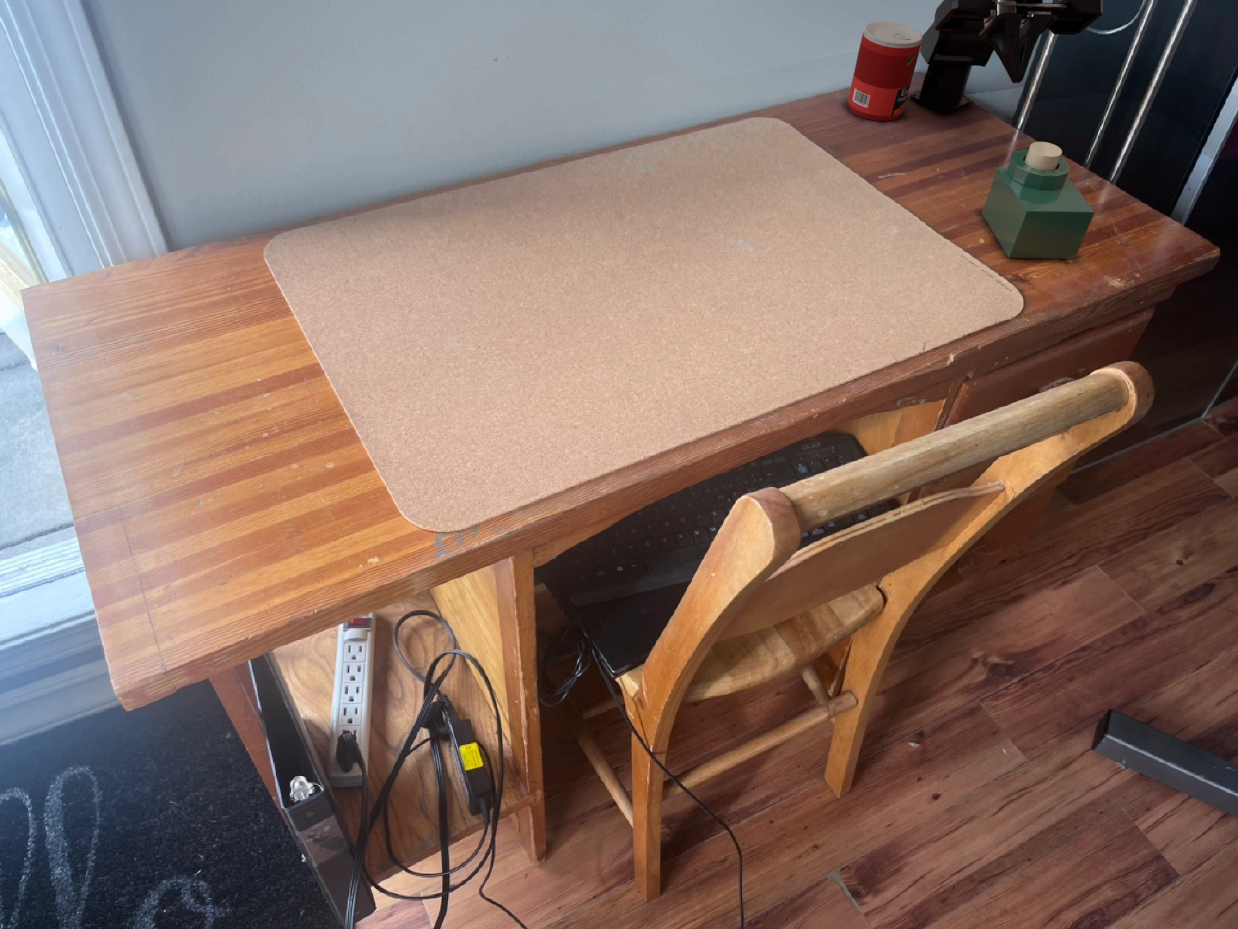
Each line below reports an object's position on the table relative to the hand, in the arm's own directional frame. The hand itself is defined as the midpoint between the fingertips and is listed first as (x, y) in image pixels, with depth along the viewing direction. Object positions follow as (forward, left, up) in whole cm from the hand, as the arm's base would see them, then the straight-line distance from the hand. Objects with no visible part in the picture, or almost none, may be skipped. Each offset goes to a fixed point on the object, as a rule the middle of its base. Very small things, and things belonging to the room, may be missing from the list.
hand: (1017, 81), depth 120 cm
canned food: (-3, -21, -13) cm, 25 cm away
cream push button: (+6, +9, -5) cm, 12 cm away
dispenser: (+8, +12, -13) cm, 19 cm away
